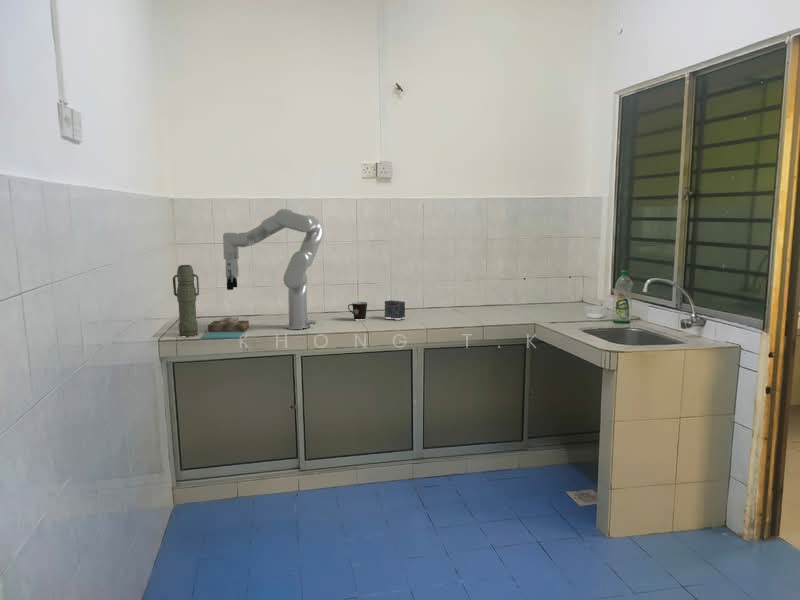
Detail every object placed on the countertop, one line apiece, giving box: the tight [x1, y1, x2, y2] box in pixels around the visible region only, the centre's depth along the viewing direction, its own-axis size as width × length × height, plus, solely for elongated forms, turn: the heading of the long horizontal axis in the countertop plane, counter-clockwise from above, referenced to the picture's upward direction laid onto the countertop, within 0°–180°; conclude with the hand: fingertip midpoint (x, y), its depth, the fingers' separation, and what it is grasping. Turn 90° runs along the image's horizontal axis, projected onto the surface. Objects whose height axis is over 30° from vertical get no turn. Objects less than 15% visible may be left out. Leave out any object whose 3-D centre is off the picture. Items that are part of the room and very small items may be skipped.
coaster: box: [219, 316, 239, 324], centre depth 295 cm, size 8×6×2 cm
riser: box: [207, 320, 250, 333], centre depth 294 cm, size 18×12×4 cm, turn 94°
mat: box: [200, 331, 245, 340], centre depth 282 cm, size 18×12×1 cm, turn 94°
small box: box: [384, 300, 406, 318], centre depth 327 cm, size 11×6×10 cm, turn 58°
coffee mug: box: [347, 301, 368, 320], centre depth 324 cm, size 12×9×10 cm
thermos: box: [172, 264, 200, 338], centre depth 280 cm, size 9×12×35 cm
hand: (232, 288), depth 302 cm, fingers open, 8 cm apart
